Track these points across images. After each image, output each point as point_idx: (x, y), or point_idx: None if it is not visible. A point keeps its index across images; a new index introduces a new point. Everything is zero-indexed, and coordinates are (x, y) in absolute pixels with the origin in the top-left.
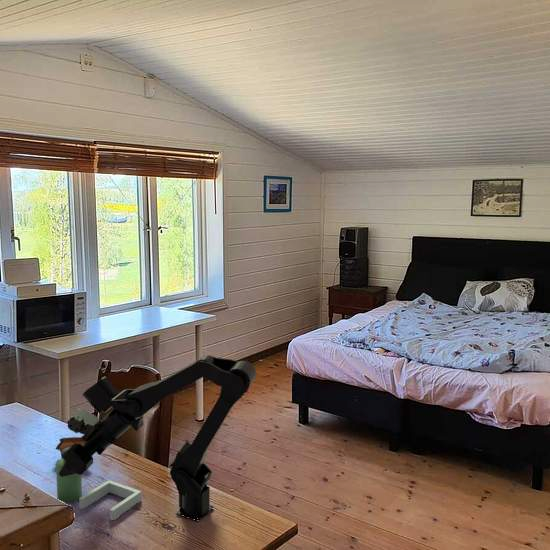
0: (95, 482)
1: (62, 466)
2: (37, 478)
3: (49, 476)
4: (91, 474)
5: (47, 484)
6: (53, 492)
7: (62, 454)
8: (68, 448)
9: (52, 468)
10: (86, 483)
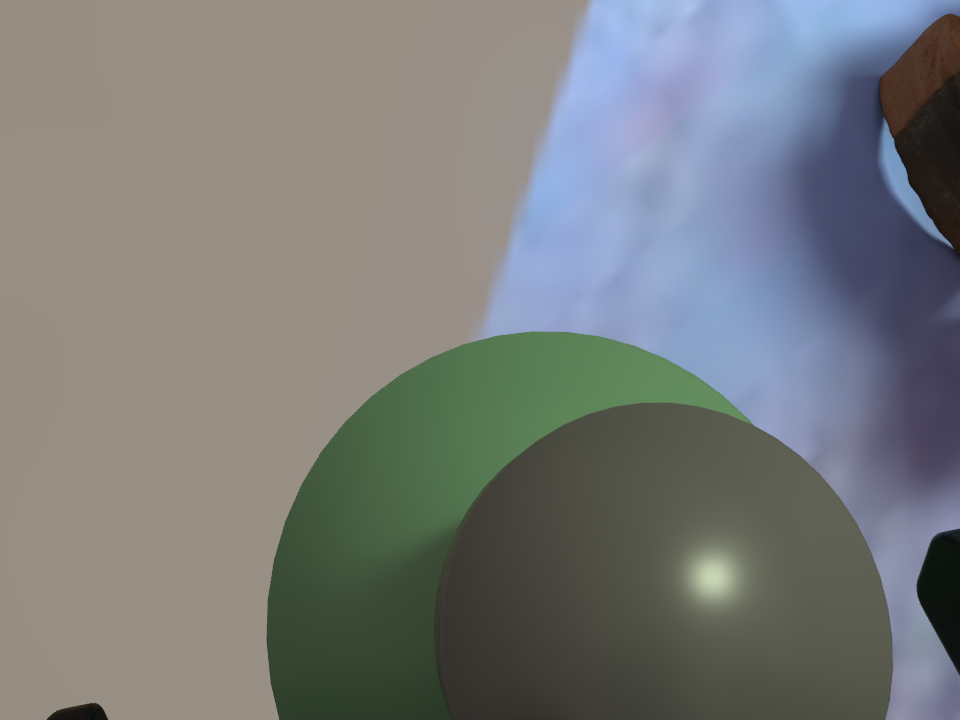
0: None
1: (327, 616)
2: (643, 13)
3: (724, 99)
4: (957, 503)
5: (587, 178)
6: None
7: (454, 535)
8: (779, 551)
9: (860, 32)
10: None
